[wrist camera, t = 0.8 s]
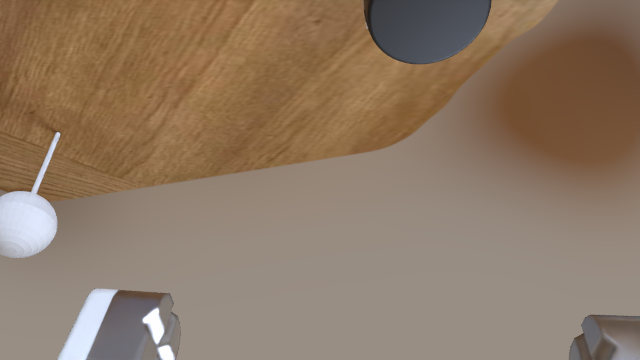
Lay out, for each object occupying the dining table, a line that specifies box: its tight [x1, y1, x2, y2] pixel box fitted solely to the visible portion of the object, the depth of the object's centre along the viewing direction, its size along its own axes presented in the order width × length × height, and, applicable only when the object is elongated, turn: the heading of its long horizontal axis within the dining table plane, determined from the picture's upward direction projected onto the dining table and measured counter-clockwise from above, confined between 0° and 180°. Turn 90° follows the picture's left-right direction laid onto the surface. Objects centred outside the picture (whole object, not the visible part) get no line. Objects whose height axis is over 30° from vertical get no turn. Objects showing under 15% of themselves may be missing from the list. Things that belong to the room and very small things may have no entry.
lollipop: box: [0, 132, 61, 258], centre depth 52 cm, size 6×6×15 cm
